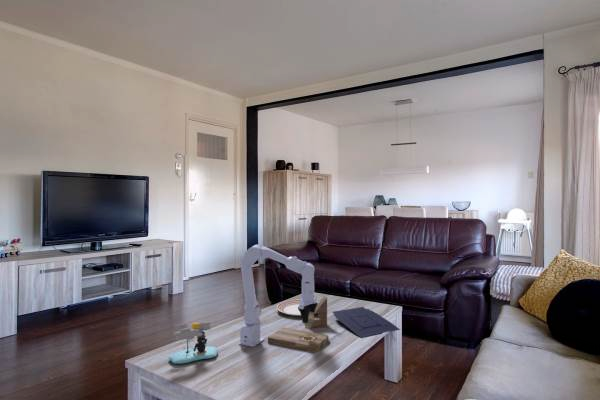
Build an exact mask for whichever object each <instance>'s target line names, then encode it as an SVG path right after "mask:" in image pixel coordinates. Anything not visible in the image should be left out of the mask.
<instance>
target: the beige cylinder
mask: <svg viewBox="0 0 600 400" xmlns="http://www.w3.org/2000/svg"><path fill="white" fill-rule="evenodd" d="M314 318H315V314H314V313H313V312H309V318H308V323H303V321H302V320H301V321H302V322H301V323H302V324H304V328H305V329H307V330H309V329H311V325H312V323H314Z"/></svg>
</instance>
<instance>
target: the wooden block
mask: <svg viewBox="0 0 600 400" xmlns="http://www.w3.org/2000/svg"><path fill="white" fill-rule="evenodd" d="M318 302H319V303H318V305H317V307H316V309H315V312H314V313H316V314H318V316H317V317H314V323H312V325H311V328H312V329H313V328H317V327H325V326H328V298H327V297H326V296H323V297H322V299H320V301H318ZM311 328H310V329H311Z"/></svg>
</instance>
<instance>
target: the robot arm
mask: <svg viewBox="0 0 600 400" xmlns="http://www.w3.org/2000/svg"><path fill="white" fill-rule="evenodd" d="M243 255H244V256H242V257H243V258H242V259H241V262H240V271H241V280H242V287H243V295H244V301H245V303H244V314H243V321H244V324H243V325H242V327H241V328H240V331H239V334H240V335H239V338H240V339H239V340H240V341H239V342H238V344H239V345H241V346H247V347H253V348H254V347H256V346H257V345H258V344H260V343H261V342H263V341H264V340H265V338H263V337H261V320H260V316H261V315H262V309H261V307H260V306H259V302H258V300H257V296H256V295H257V294H256V287H255V282H254V281H255V280H254V274H253V273H254V272H253V265H254V264H255V263H256V262H257V261H258V260H259V259H260V260H265V259H270V260H273V261H276V262H278V263H281V264H284V265H285V267H286V269H287V270H291V271H292V272H295V273H297V274H300V275H301V299H300V300H301V302H300V304H299V307H298V310H299V311H300V313H301V316H300V317H301V321H303V323H302V324H304V323H308V318H309V312H313V313H314V312H315V309H316V307H317V305H318V303H317V302H318V301H317V296H315V276H314V274H315V266H314V265H313V264H312V263H311V262H307V261H303V260H300V259H298V257H297V256H295V255H294V256H289V257H287V256H286V255H284V254H281V253H280V252H278V251H275V250H273V249H271V248H270V247H267V246H264V245H261V244H258V243H257V244H254V245H252V246H251V247H249V248H248V249H247V250H246V251H245V252H244V254H243Z"/></svg>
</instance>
